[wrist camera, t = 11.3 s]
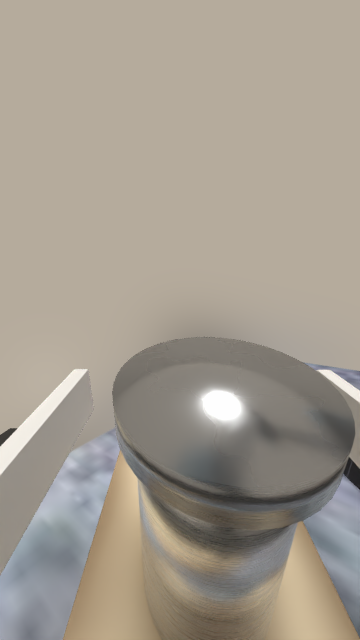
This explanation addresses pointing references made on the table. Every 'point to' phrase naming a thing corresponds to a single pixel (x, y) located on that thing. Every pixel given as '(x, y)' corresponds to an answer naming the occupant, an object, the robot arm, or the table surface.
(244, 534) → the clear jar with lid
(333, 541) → the table surface
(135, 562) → the stand
